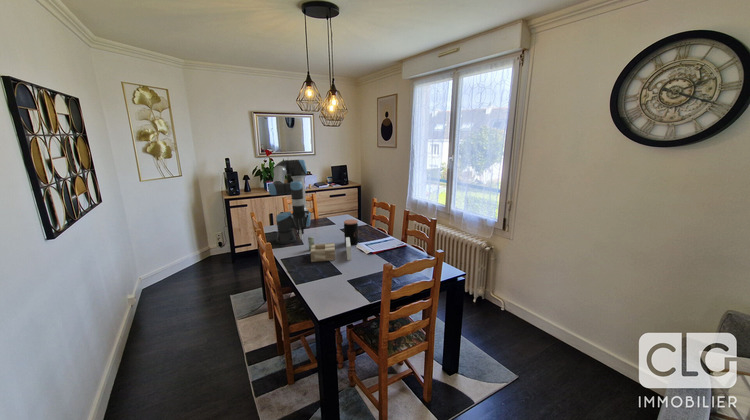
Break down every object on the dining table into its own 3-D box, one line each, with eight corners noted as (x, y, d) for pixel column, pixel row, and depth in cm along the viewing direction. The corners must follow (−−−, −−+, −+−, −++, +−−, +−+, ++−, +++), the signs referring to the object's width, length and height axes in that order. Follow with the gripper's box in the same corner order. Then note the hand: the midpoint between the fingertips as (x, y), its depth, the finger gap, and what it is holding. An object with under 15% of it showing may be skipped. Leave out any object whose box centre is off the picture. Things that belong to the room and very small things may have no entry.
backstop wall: (346, 250, 214) (345, 237, 212) (350, 249, 215) (349, 237, 212) (347, 260, 197) (346, 246, 194) (351, 260, 197) (350, 246, 195)
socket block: (312, 253, 209) (311, 244, 207) (335, 251, 211) (334, 242, 209) (311, 261, 196) (310, 252, 194) (335, 259, 198) (334, 250, 196)
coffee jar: (356, 246, 221) (355, 223, 216) (343, 245, 223) (341, 223, 219) (360, 241, 231) (359, 219, 227) (347, 240, 233) (346, 219, 229)
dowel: (309, 249, 217) (308, 236, 215) (314, 248, 218) (313, 236, 215) (309, 251, 214) (307, 238, 211) (314, 251, 214) (313, 238, 212)
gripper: (287, 206, 187) (290, 241, 193) (307, 205, 189) (310, 239, 195) (288, 204, 195) (292, 237, 200) (308, 203, 196) (311, 236, 202)
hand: (301, 238), depth 198 cm, fingers closed
